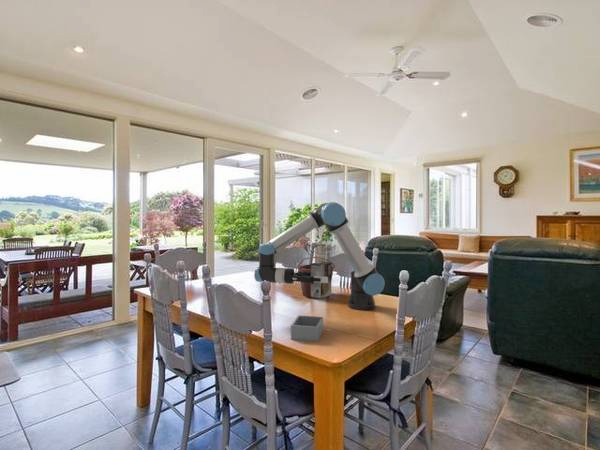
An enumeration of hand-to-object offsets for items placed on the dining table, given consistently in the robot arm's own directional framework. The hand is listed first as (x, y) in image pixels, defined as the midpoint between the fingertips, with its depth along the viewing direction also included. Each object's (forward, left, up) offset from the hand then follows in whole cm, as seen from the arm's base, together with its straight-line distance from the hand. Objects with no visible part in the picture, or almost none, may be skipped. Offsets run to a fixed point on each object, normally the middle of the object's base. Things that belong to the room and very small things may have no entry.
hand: (329, 277), depth 170 cm
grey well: (+7, +17, -22) cm, 29 cm away
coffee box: (+4, 0, -9) cm, 10 cm away
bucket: (+16, -55, -23) cm, 62 cm away
